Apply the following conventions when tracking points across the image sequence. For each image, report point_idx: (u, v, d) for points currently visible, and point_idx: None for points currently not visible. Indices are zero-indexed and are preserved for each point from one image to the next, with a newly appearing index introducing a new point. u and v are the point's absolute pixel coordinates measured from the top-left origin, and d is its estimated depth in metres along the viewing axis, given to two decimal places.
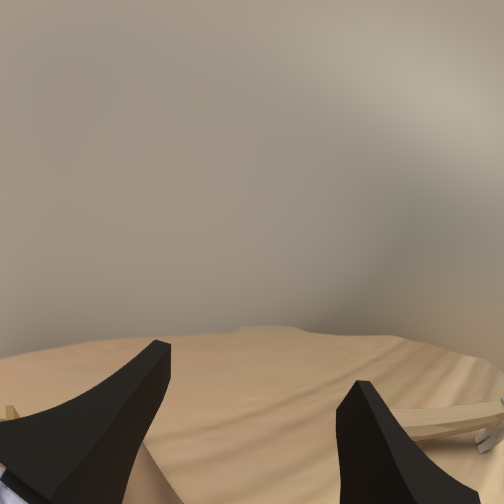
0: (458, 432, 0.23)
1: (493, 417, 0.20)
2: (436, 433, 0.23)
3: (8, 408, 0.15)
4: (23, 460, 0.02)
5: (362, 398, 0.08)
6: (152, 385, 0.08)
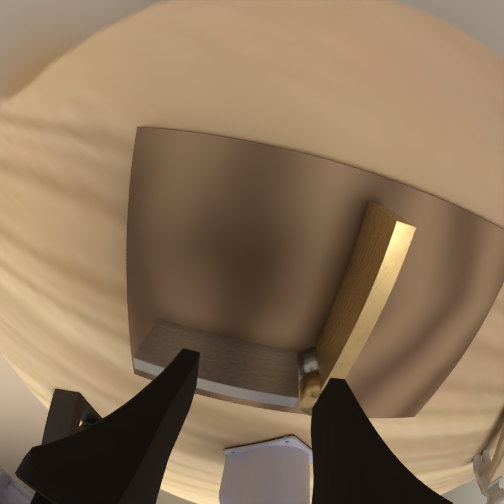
0: (494, 456, 0.21)
1: (491, 476, 0.20)
2: (499, 448, 0.20)
3: (401, 232, 0.10)
4: (66, 490, 0.02)
5: (335, 396, 0.08)
6: (184, 395, 0.08)
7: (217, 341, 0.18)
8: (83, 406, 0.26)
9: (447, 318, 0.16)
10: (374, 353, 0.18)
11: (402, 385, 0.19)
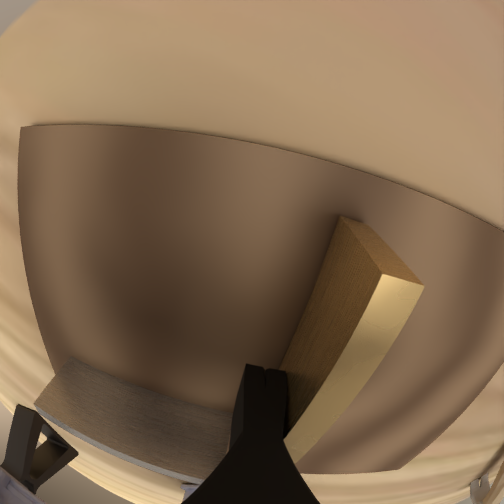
0: (493, 486, 0.15)
1: None
2: (499, 480, 0.14)
3: (390, 297, 0.05)
4: None
5: None
6: None
7: (130, 394, 0.12)
8: (41, 425, 0.20)
9: (450, 375, 0.11)
10: (343, 419, 0.12)
11: (383, 446, 0.13)
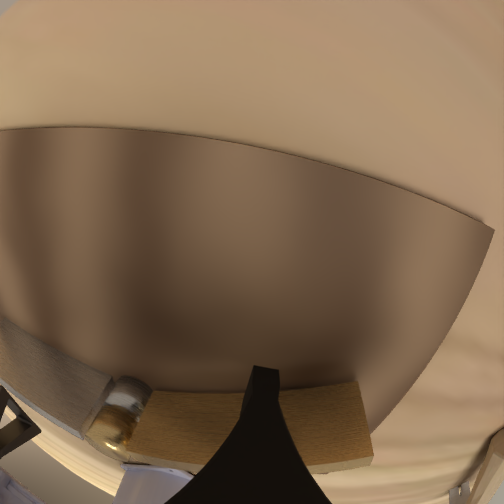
0: (470, 497, 0.15)
1: None
2: (474, 492, 0.14)
3: (361, 461, 0.07)
4: None
5: (252, 384, 0.08)
6: None
7: (37, 348, 0.12)
8: (6, 400, 0.20)
9: (337, 368, 0.11)
10: None
11: None
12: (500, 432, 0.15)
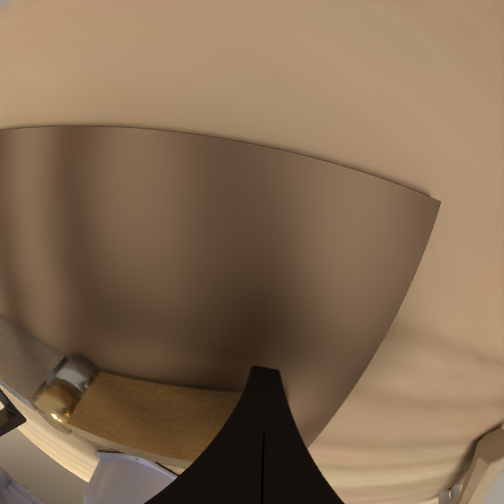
0: (458, 501, 0.15)
1: None
2: (462, 497, 0.14)
3: None
4: None
5: None
6: None
7: (7, 328, 0.12)
8: None
9: (260, 354, 0.11)
10: (149, 381, 0.12)
11: None
12: (486, 435, 0.15)
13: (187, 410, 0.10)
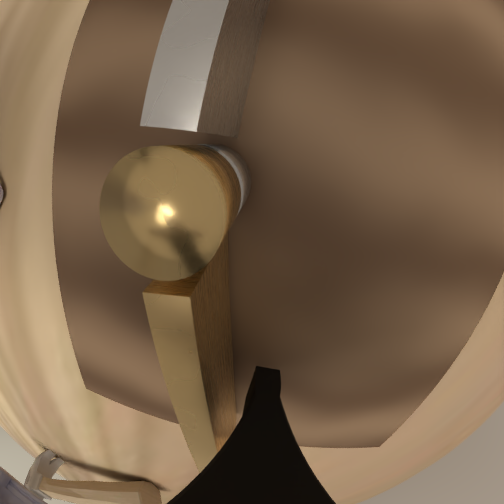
0: (67, 482, 0.22)
1: (46, 488, 0.20)
2: (79, 488, 0.20)
3: None
4: None
5: (255, 385, 0.08)
6: None
7: None
8: None
9: (294, 402, 0.12)
10: (230, 306, 0.10)
11: (149, 366, 0.12)
12: (151, 484, 0.23)
13: (228, 387, 0.09)
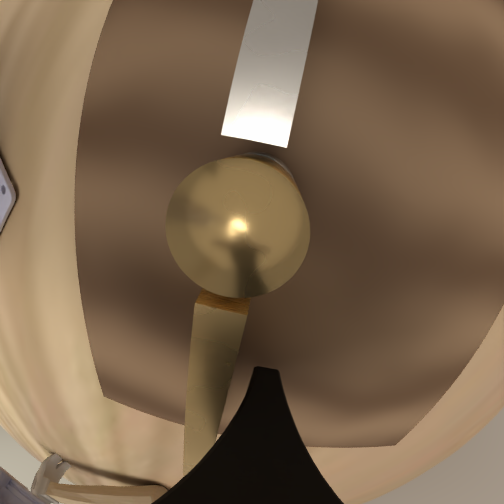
0: (75, 487, 0.22)
1: (53, 493, 0.20)
2: (89, 493, 0.20)
3: None
4: None
5: None
6: None
7: None
8: None
9: (321, 404, 0.12)
10: (267, 313, 0.10)
11: (176, 374, 0.12)
12: (163, 488, 0.23)
13: None
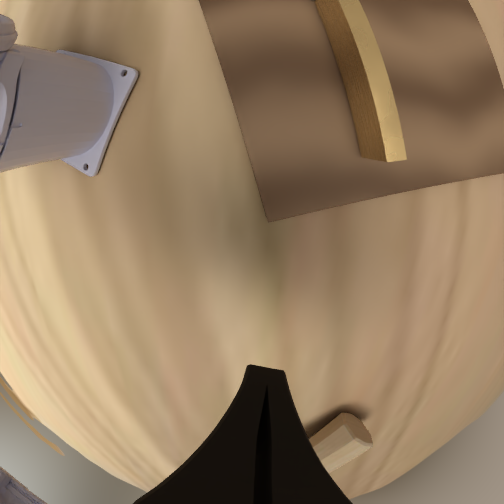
0: None
1: None
2: None
3: (398, 151, 0.10)
4: None
5: (266, 387, 0.08)
6: None
7: None
8: None
9: (437, 109, 0.12)
10: None
11: (331, 119, 0.14)
12: (350, 414, 0.23)
13: None
